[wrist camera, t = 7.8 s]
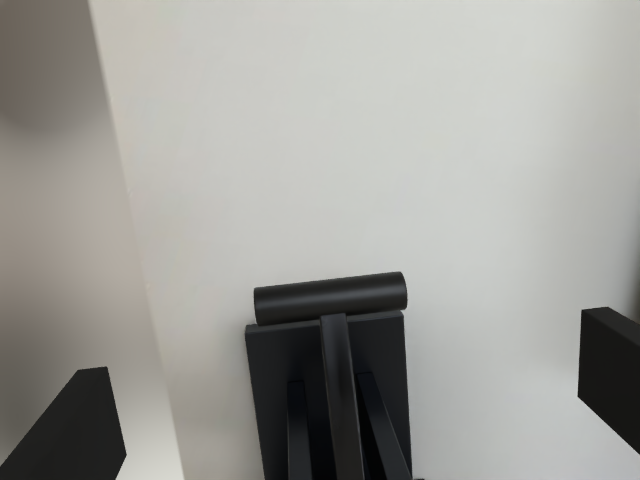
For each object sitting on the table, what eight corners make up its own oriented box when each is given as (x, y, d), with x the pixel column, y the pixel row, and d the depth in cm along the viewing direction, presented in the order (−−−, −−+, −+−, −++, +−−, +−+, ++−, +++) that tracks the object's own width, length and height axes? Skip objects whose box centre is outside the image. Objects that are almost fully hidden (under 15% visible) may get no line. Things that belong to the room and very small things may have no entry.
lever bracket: (245, 324, 28) (218, 482, 16) (398, 306, 29) (487, 446, 16) (268, 485, 31) (259, 728, 19) (407, 467, 31) (490, 691, 19)
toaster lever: (256, 287, 21) (251, 288, 19) (394, 271, 21) (407, 271, 19) (286, 582, 20) (285, 623, 18) (429, 561, 20) (447, 599, 18)
